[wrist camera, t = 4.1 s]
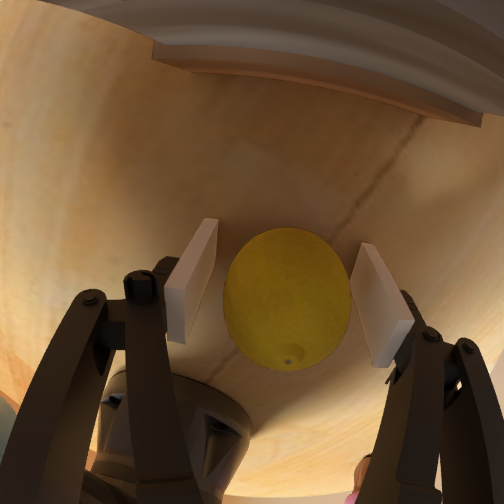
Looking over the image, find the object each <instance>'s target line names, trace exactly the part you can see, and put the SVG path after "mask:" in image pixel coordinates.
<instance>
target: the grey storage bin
mask: <svg viewBox="0 0 504 504" xmlns="http://www.w3.org/2000/svg"><path fill="white" fill-rule="evenodd" d="M39 1H43V2H47V3H51V4H55V5H59V6H63V7H66V8H70V9H73V10H77V11H80V12H83V13H86V14H89V15H92V16H95V17H98V18H101V19H104V20H107V21H109V22H112V23H115V24H118V25H120V26H123V27H125V28H128V29H130V30H133V31H135V32H138V33H140V34H142V35H145V36H147V37H149V38H152V39H154V46H153V53H152V60H155V61H159V62H162V63H165V64H168V65H172V66H175V67H178V68H181V69H184V70H187V71H189V72H199V73H219V74H233V75H244V76H254V77H262V78H270V79H277V80H284V81H291V82H297V83H302V84H308V85H313V86H318V87H323V88H328V89H332V90H337V91H341V92H345V93H349V94H353V95H357V96H361V97H365V98H368V99H372V100H375V101H379V102H382V103H385V104H389V105H392V106H395V107H398V108H401V109H404V110H407V111H410V112H413V113H416V114H419V115H421V116H424V117H428V118H434V119H440V120H446V121H451V122H456V123H461V124H466V125H471V126H475V127H479V128H481V122H482V116H483V113H488V114H494V115H499V116H504V0H39Z"/></svg>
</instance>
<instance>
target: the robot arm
mask: <svg viewBox="0 0 504 504" xmlns="http://www.w3.org/2000/svg"><path fill="white" fill-rule="evenodd" d="M218 222H219V219H211V218H204V220H203V221H202V223H201V225H200V226H199V228H198V230H197V231H196V233H195V235H194V236H193V238H192V239H191V241H190V243H189V244H188V246H187V248H186V249H185V251H184V253H183V254H182V256H181V258H176V257H170V256H166V257H165V258H163V259H161V260H160V261H159V262H158V263H157V265H156V266H155V268H154V269H153V271H152V272H151V271H148V270H138V271H133V272H131V273H129V274H128V275H127V276H125V278H124V280H123V282H124V290H125V297H126V299H121V300H107V298H106V295H105V293H104V292H102V291H101V290H97V289H88V290H84V291H82V292H80V293H79V294H78V295H77V296H76V297H75V299H74V300H73V302H72V304H71V305H70V307H69V309H68V311H67V312H66V314H65V316H64V318H63V319H62V321H61V323H60V325H59V327H58V329H57V330H56V332H55V334H54V336H53V338H52V340H51V342H50V344H49V346H48V348H47V350H46V352H45V354H44V356H43V358H42V360H41V362H40V364H39V366H38V368H37V370H36V372H35V374H34V377H33V379H32V381H31V383H30V385H29V388H28V390H27V392H26V395H25V397H24V399H23V402H22V404H21V407H20V409H19V412H18V414H17V415H16V412H15V411H14V409H13V408H12V407H11V406H10V404H9V403H8V402H6V400H5V399H4V398H2V397H0V504H222V498H223V494H224V492H225V490H226V488H227V487H228V485H229V483H230V481H231V480H232V478H233V476H234V474H235V472H236V471H237V469H238V467H239V465H240V463H241V461H242V459H243V458H244V456H245V454H246V452H247V450H248V447H249V443H250V434H251V422H250V419H249V417H248V415H247V414H246V412H245V411H244V410H243V409H242V408H241V407H240V406H239V405H238V404H237V403H235V402H234V401H233V400H231V399H230V398H228V397H227V396H225V395H223V394H222V393H220V392H218V391H216V390H214V389H212V388H210V387H208V386H206V385H203V384H201V383H198V382H196V381H193V380H190V379H187V378H184V377H180V376H177V375H173V374H171V370H170V364H169V358H168V351H167V345H166V338H165V334H166V332H167V341H172V342H177V343H181V344H186V341H187V338H188V335H189V333H190V330H191V327H192V324H193V321H194V319H195V316H196V313H197V310H198V308H199V305H200V302H201V300H202V297H203V294H204V292H205V289H206V286H207V284H208V281H209V278H210V276H211V273H212V270H213V268H214V265H215V258H216V246H217V233H218ZM349 285H350V289H351V292H352V295H353V299H354V302H355V305H356V308H357V312H358V315H359V318H360V322H361V325H362V328H363V332H364V335H365V339H366V342H367V346H368V350H369V353H370V357H371V361H372V365H373V367H384V368H388V367H389V365H390V364H391V362H392V361H393V359H394V360H395V363H396V366H395V368H394V370H393V371H392V373H391V374H390V376H389V377H388V379H387V380H386V382H385V384H388V382H389V381H390V380H391V381H390V386H389V390H388V395H387V399H386V404H385V408H384V412H383V416H382V420H381V424H380V428H379V432H378V435H377V439H376V442H375V446H374V449H373V452H372V456H371V459H370V462H369V465H368V468H367V471H366V474H365V477H364V480H363V482H362V485H361V488H360V491H359V493H358V496H357V498H356V501H355V503H354V504H441V503H442V504H504V419H503V416H502V412H501V409H500V405H499V403H498V399H497V396H496V393H495V390H494V387H493V384H492V381H491V378H490V376H489V373H488V370H487V368H486V365H485V362H484V360H483V357H482V355H481V352H480V350H479V348H478V346H477V345H476V344H475V343H474V342H473V341H471V340H470V339H467V338H460V339H458V341H457V342H456V344H455V345H453V344H449V343H446V342H443V338H442V336H441V334H440V333H439V332H438V331H437V330H436V329H434V328H432V327H429V326H426V324H425V322H424V320H423V318H422V316H421V314H420V312H419V310H418V308H417V306H416V305H415V303H414V301H413V299H412V297H411V296H410V295H409V294H408V293H407V292H406V291H404V290H399V288H398V286H397V284H396V283H395V281H394V279H393V277H392V275H391V273H390V272H389V270H388V268H387V266H386V264H385V263H384V261H383V259H382V257H381V256H380V254H379V252H378V251H377V249H376V247H375V245H374V244H368V243H363V242H362V243H361V247H360V250H359V253H358V256H357V259H356V262H355V266H354V269H353V272H352V275H351V278H350V281H349ZM116 350H125V357H126V371H125V372H122V373H119V374H117V375H115V376H113V377H112V378H111V379H110V381H109V382H108V384H107V386H106V388H105V385H106V381H107V378H108V374H109V371H110V368H111V365H112V361H113V358H114V355H115V352H116ZM460 381H461V384H462V387H461V388H460V389H459V390H458V389H457V384H458V383H459V382H460ZM104 388H105V390H104ZM103 391H104V392H103ZM98 410H99V419H98V436H97V455H96V458H95V461H94V463H93V466H92V469H91V471H88V470H86V469H85V465H86V460H87V456H88V451H89V446H90V442H91V438H92V433H93V429H94V425H95V421H96V417H97V413H98ZM439 453H440V464H441V476H442V477H441V478H442V493H441V491H440V490H437V489H435V477H436V472H437V466H438V459H439Z"/></svg>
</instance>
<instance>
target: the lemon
mask: <svg viewBox="0 0 504 504" xmlns="http://www.w3.org/2000/svg"><path fill="white" fill-rule="evenodd" d="M223 306H224V317H225V321H226V324H227V328H228V331H229V334H230V336H231V338H232V340H233V341H234V343H235V344H236V346H237V347H238V348H239V350H240V351H241V352H242V353H243V354H244V355H245V356H246V357H248V358H249V359H250V360H251V361H253V362H255V363H256V364H258V365H260V366H262V367H265V368H268V369H272V370H275V371H284V372H286V371H297V370H302V369H306V368H308V367H310V366H313V365H315V364H317V363H319V362H320V361H322V360H323V359H325V358H326V357H327V356H329V355H330V354H331V353H332V352H333V351H334V349H335V348H336V347H337V346H338V345H339V343H340V342H341V340H342V338H343V336H344V334H345V332H346V329H347V326H348V322H349V316H350V310H351V291H350V285H349V279H348V275H347V272H346V269H345V268H344V266H343V264H342V262H341V260H340V258H339V256H338V255H337V253H336V252H335V251H334V250H333V249H332V248H331V247H330V246H329V244H328V243H327V242H326V241H325V240H323V239H322V238H320V237H318V236H317V235H315V234H313V233H312V232H309V231H305V230H302V229H298V228H287V227H282V228H277V229H271V230H268V231H266V232H264V233H262V234H259V235H257V236H255V237H254V238H253V239H252V240H250V241H249V242H248V243H247V244H246V245H244V246H243V247H242V249H241V250H240V251H239V253H238V254H237V256H236V257H235V259H234V260H233V261H232V263H231V265H230V268H229V271H228V274H227V277H226V280H225V284H224V301H223Z"/></svg>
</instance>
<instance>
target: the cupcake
mask: <svg viewBox="0 0 504 504" xmlns="http://www.w3.org/2000/svg"><path fill="white" fill-rule="evenodd" d="M370 459H371V457H368V458H364V459H362V460H361V462H360V463H359V464H358V466H357V467H356V469H355V473H354V490H353V492H352V494H350V495H349V496H348V497H347V498H346V500H345V504H354V503H355V501H356V498H357V496H358V493H359V491H360V488H361V485H362V482H363V480H364V477H365V474H366V471H367V468H368V465H369V462H370Z"/></svg>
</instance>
